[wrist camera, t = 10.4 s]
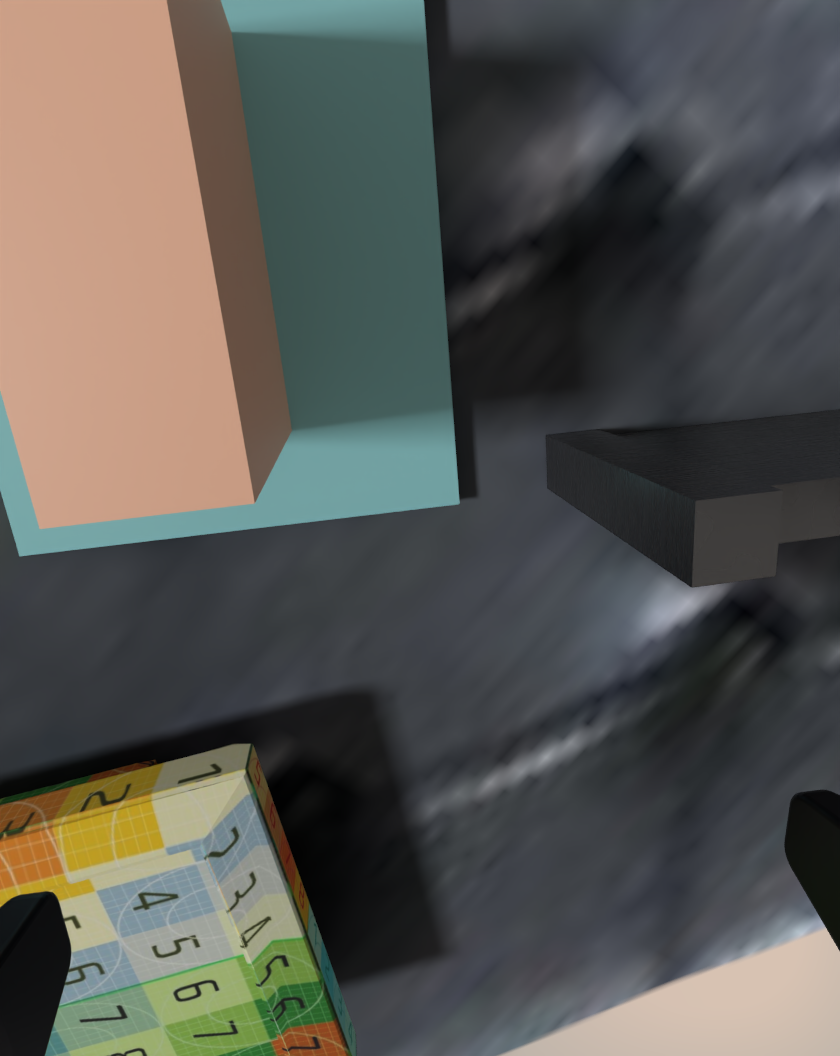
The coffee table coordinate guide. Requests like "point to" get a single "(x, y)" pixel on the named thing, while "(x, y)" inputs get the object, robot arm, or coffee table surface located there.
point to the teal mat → (329, 275)
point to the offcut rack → (707, 490)
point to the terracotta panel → (132, 263)
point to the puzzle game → (176, 912)
